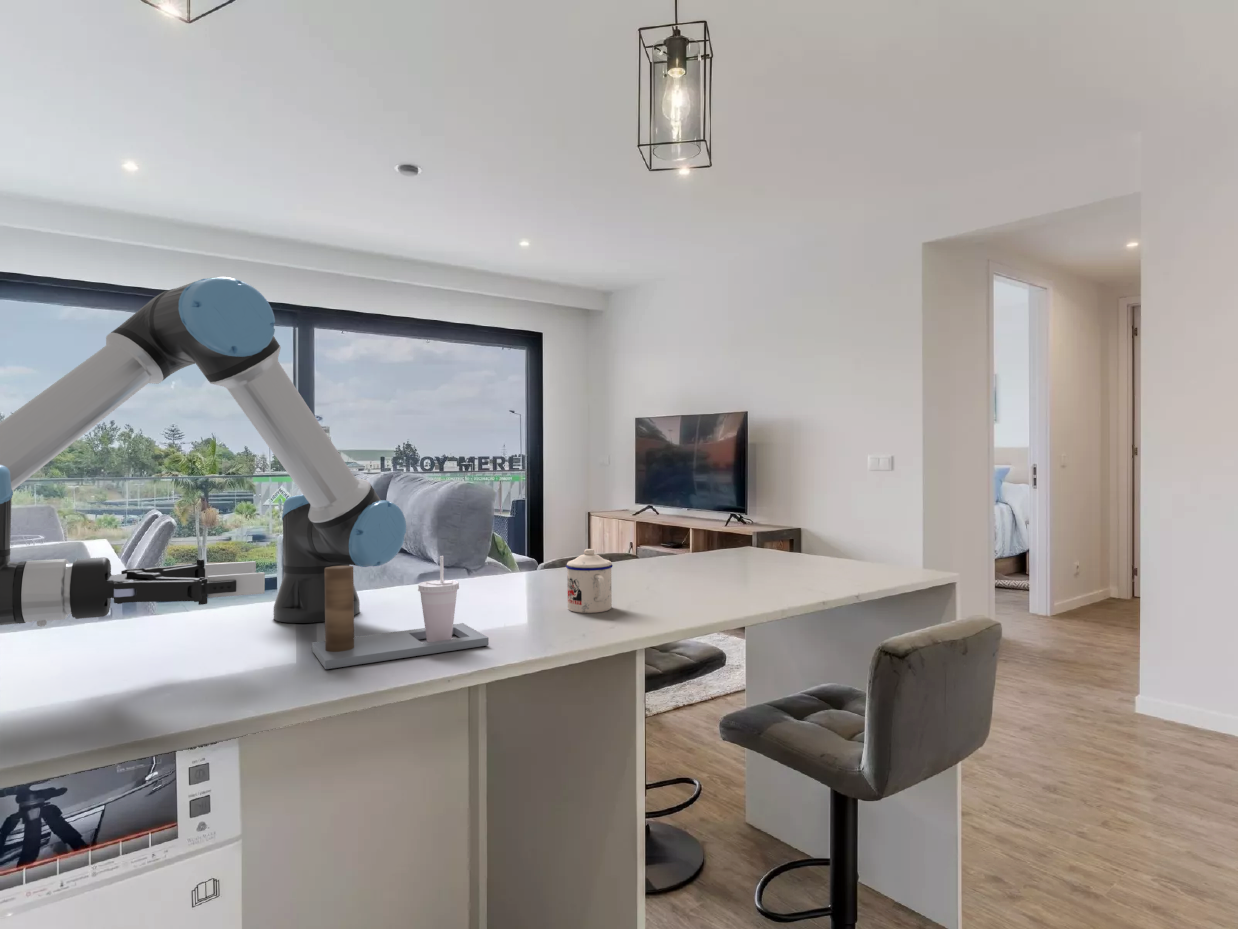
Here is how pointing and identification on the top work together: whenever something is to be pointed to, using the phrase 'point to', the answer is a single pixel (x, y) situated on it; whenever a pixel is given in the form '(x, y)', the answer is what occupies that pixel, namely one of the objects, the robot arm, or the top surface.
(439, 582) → the smoothie
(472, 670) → the top surface
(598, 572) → the teacup with lid
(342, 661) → the cup holder tray
